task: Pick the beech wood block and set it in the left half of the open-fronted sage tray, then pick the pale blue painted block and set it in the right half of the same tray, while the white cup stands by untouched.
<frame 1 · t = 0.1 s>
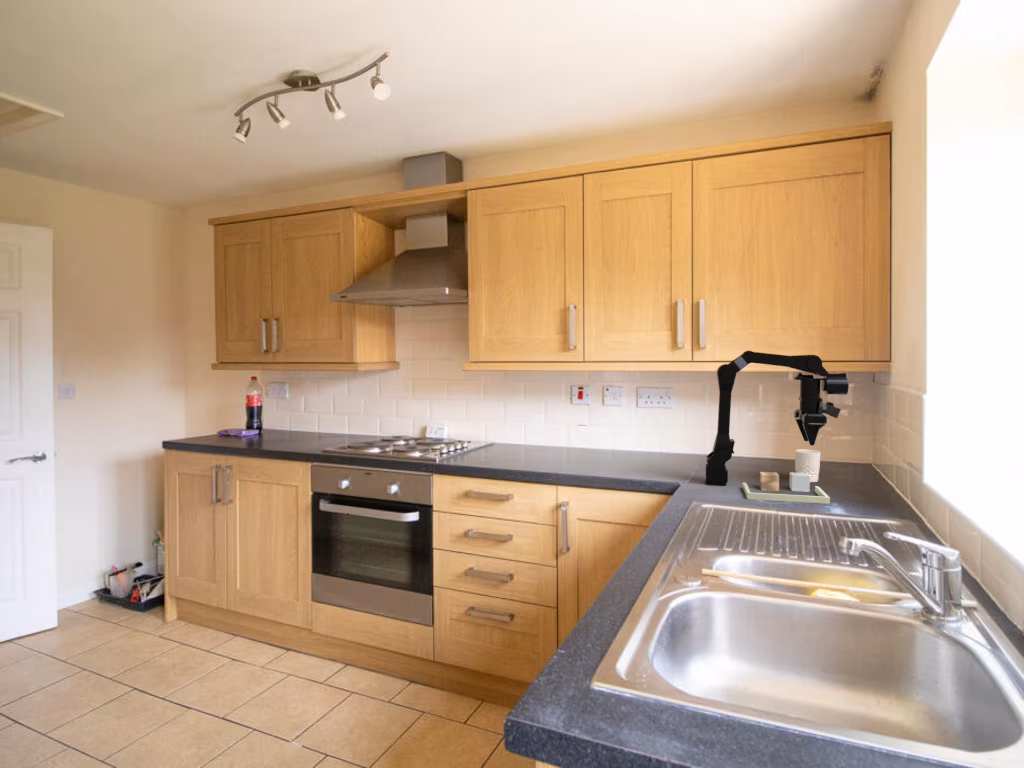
hand: (809, 443, 185), 15 cm above the table, fingers open, 9 cm apart
white cup: (807, 480, 197), on the table
blue block: (799, 489, 184), on the table
tray: (783, 495, 176), on the table
beech block: (769, 489, 185), on the table
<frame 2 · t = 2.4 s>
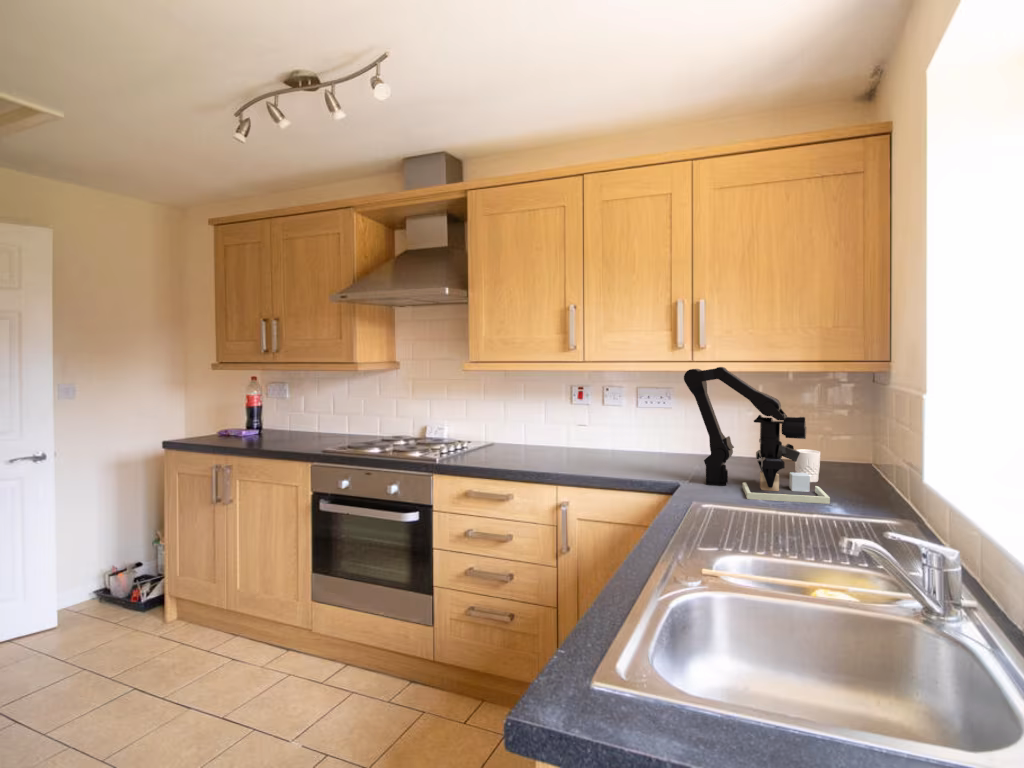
hand: (769, 485, 185), 1 cm above the table, fingers closed on beech block, 5 cm apart
beech block: (769, 488, 185), on the table, touching gripper
everything else where it was.
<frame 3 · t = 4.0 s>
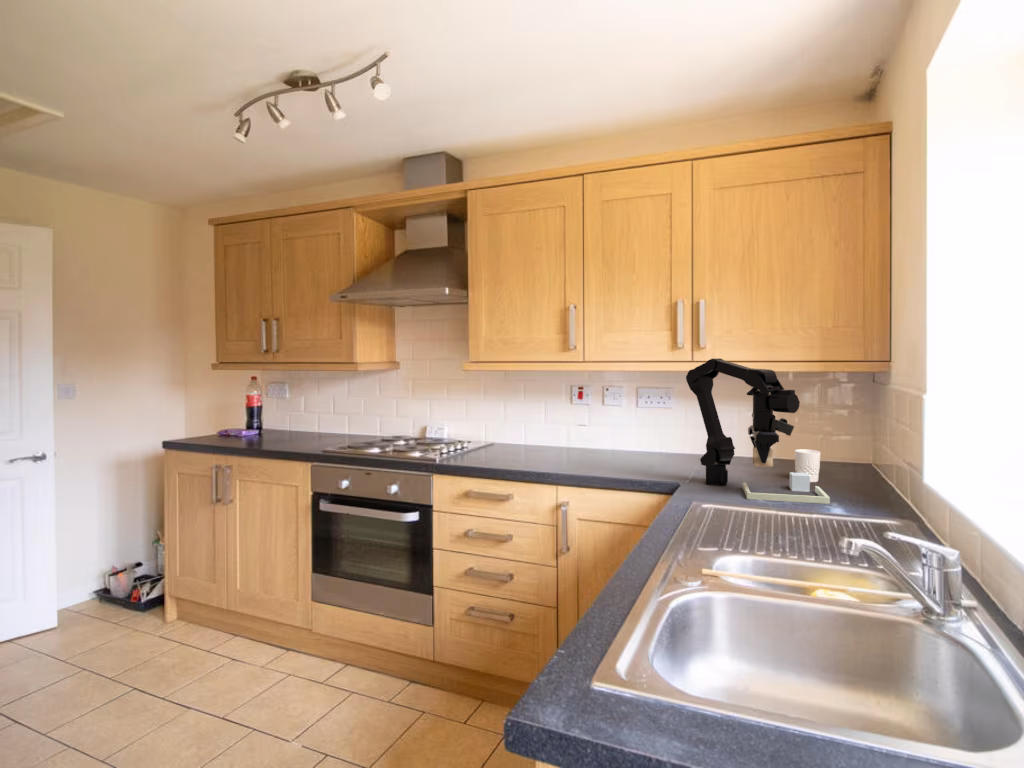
hand: (762, 461, 177), 10 cm above the table, fingers closed on beech block, 5 cm apart
beech block: (762, 464, 178), point 9 cm above the table, touching gripper
everything else where it was.
when the fingers open (2 cm above the table, at t = 5.8 s): beech block drops 2 cm, on the table.
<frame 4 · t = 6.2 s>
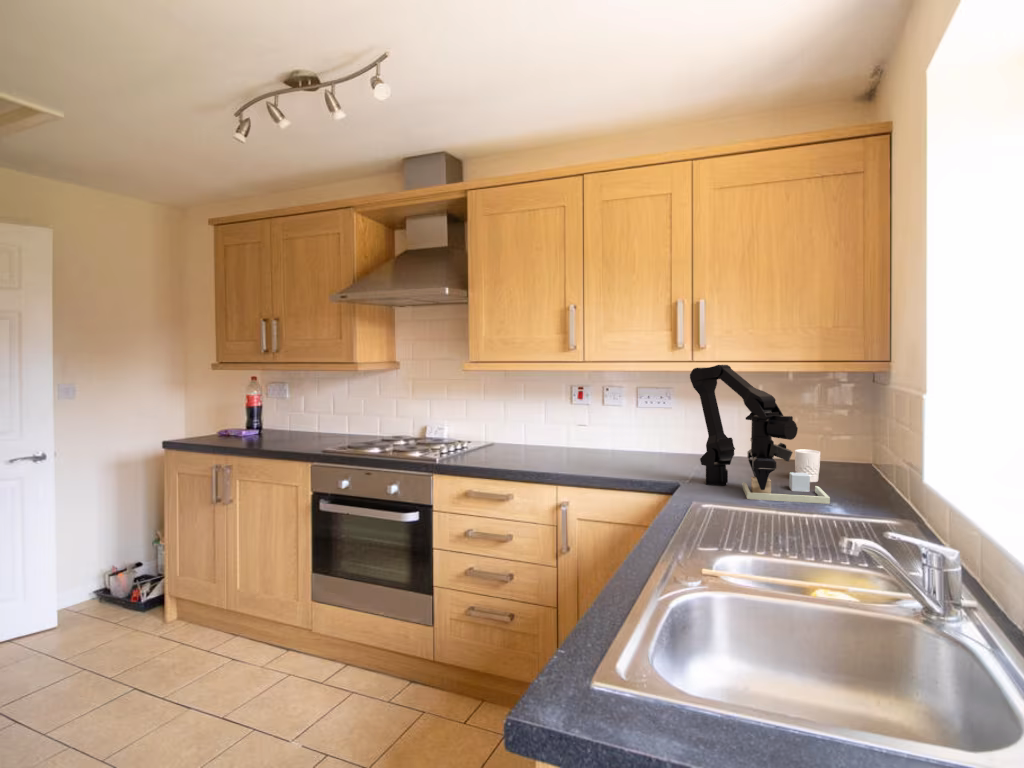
hand: (760, 486, 177), 2 cm above the table, fingers open, 9 cm apart
beech block: (760, 494, 178), on the table
everything else where it was.
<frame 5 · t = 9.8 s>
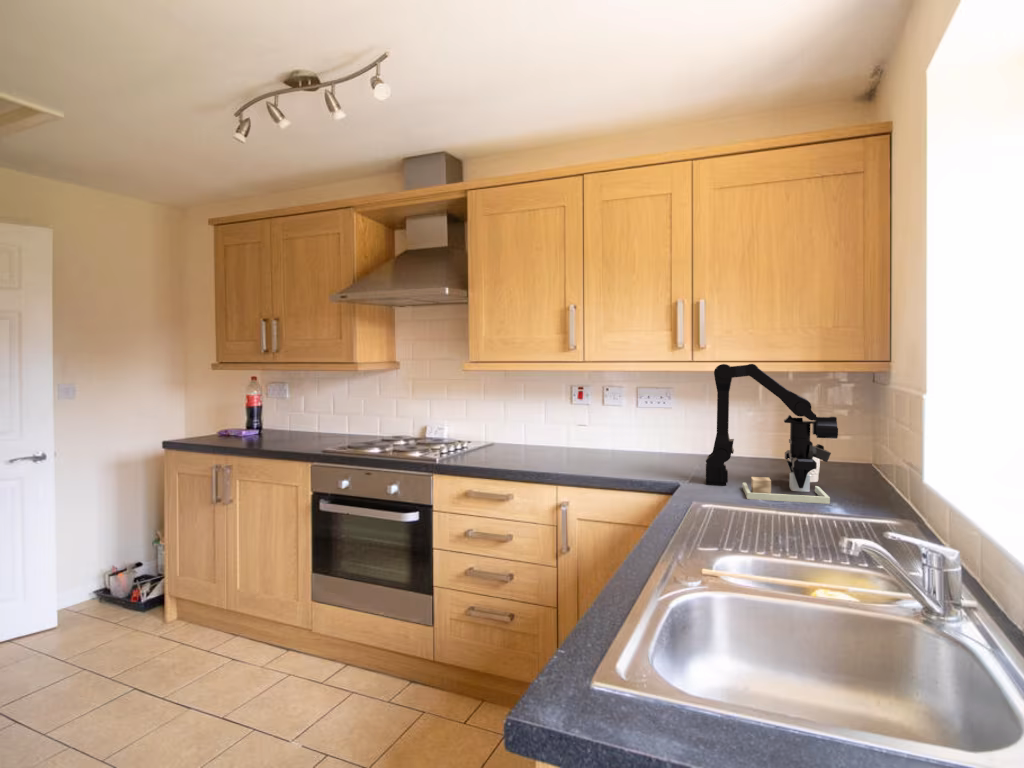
hand: (799, 486, 184), 1 cm above the table, fingers closed on blue block, 5 cm apart
blue block: (799, 489, 184), on the table, touching gripper
everything else where it was.
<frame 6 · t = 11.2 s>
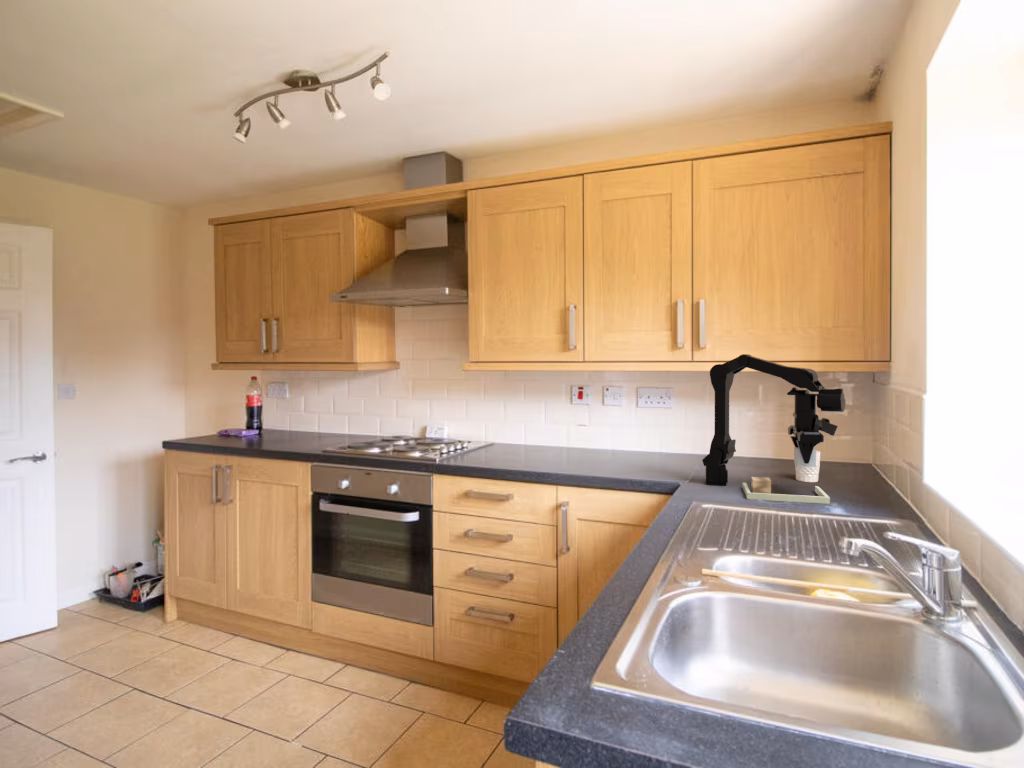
hand: (804, 461, 175), 10 cm above the table, fingers closed on blue block, 5 cm apart
blue block: (804, 465, 175), point 9 cm above the table, touching gripper
everything else where it was.
when the fingers open (2 cm above the table, at t = 13.1 s): blue block drops 2 cm, on the table.
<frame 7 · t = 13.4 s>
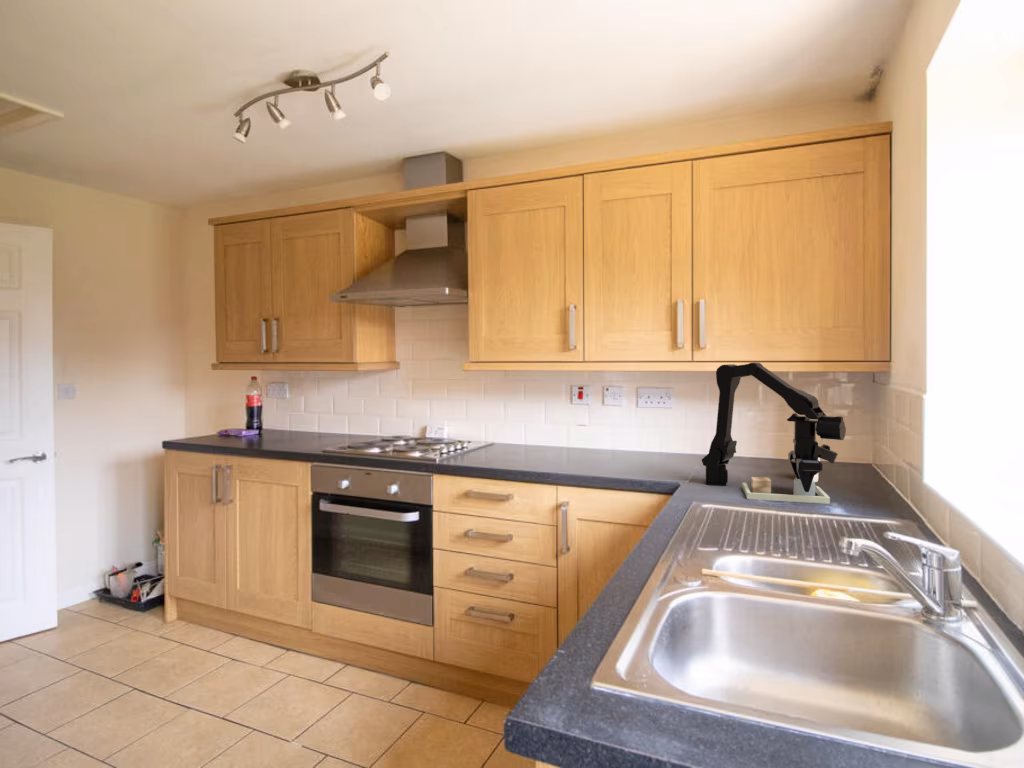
hand: (804, 488, 174), 2 cm above the table, fingers open, 8 cm apart
blue block: (804, 497, 174), on the table
everything else where it was.
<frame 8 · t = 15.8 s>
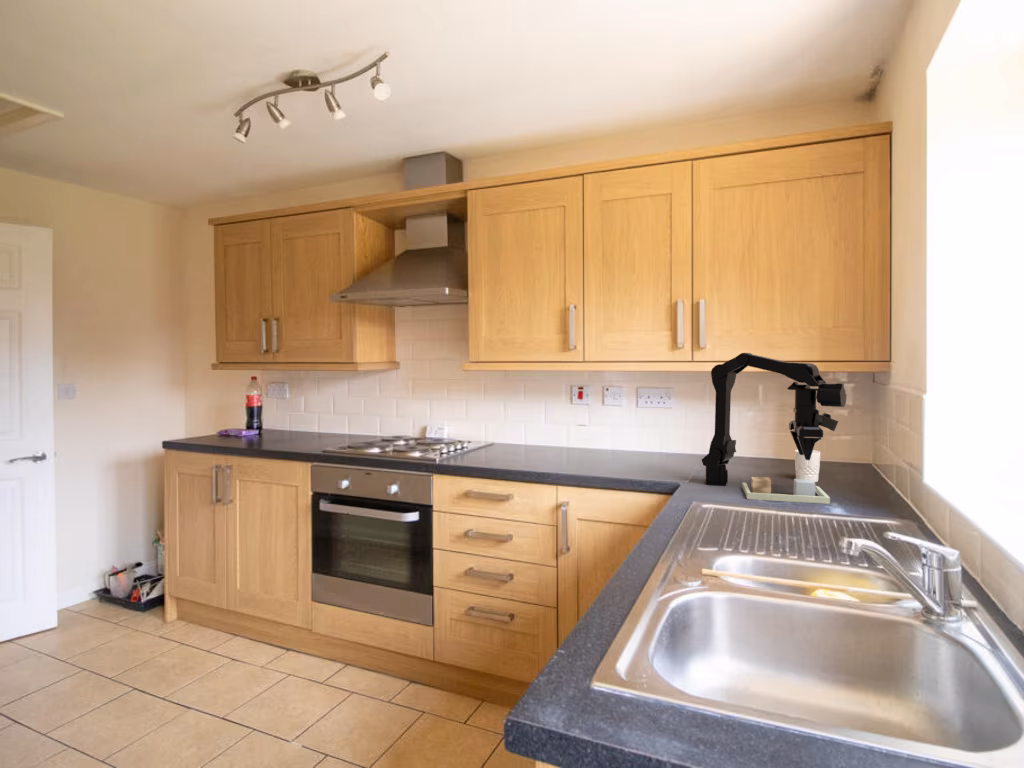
hand: (804, 457, 173), 12 cm above the table, fingers open, 9 cm apart
nothing on the table moved.
at the end: beech block inside the target area on the tray (2.3 cm from its centre), point 0.0 cm above the tray's base; blue block inside the target area on the tray (1.3 cm from its centre), point 0.0 cm above the tray's base; the gripper is holding nothing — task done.
